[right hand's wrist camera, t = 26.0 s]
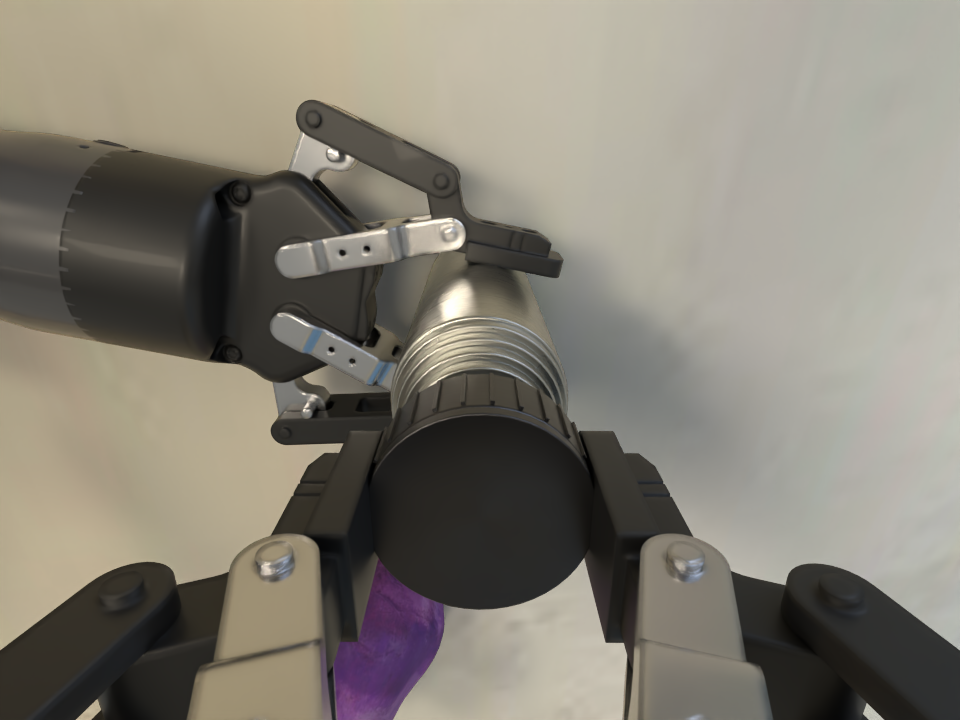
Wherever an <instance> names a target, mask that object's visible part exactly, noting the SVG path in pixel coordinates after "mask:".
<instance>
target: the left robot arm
mask: <svg viewBox="0 0 960 720" xmlns="http://www.w3.org/2000/svg"><path fill="white" fill-rule="evenodd" d="M296 121H297V125H298V127H299V129H300V130H301V133H300V136H299V139H298V142H297V145H296V148H295V151H294V154H293V157H292V160H291V163H290V166H289V169H288V170H284V171H279V172H276V173H273V174H271V175H267V176H260V175H253V174H248V173H243V172H239V171H234V170H229V169H224V168H219V167H214V166H210V165H205V164H200V163H195V162H190V161H185V160H181V159H176V158H171V157H166V156H161V155H156V154H152V153H147V152H142V151H137V150H131V149H129V148H127V147H125V146H123V145H120V144H116V143H113V142H109V141H103V140H98V141H88V140H84V139H79V138H73V137H67V136H61V135H55V134H47V133H36V132H18V131H7V130H1V129H0V320H3V321H6V322H9V323H13V324H16V325H19V326H23V327H26V328H30V329H33V330H38V331H42V332H47V333H53V334H58V335H64V336H70V337H75V338H81V339H86V340H92V341H98V342H103V343H108V344H113V345H119V346H124V347H130V348H135V349H141V350H146V351H151V352H157V353H162V354H168V355H173V356H179V357H184V358H190V359H195V360H201V361H206V362H215V363H231V364H239V365H242V366H244V367H247V368H249V369H251V370H252V371H254V372H256V373H257V374H258V375H260V376H261V377H262V378H264V379H266V380H268V381H271V382H273V386H274V392H275V397H276V403H277V408H278V413H279V416H278V418H277V419H276V421H275V422H274V423H273V425H272V427H271V435H272V437H273V438H274V440H276V441H277V442H278V443H280V444H283V445H302V444H332V443H344V442H345V439H346V437H347V435H348V433H349V432H350V431H384V429H385V427H389V425H390V423H391V421H392V420H393V418H392V410H391V385H392V379H393V376H394V373H395V370H396V367H397V364H398V361H399V358H400V356H401V353H402V350H403V347H404V344H403V343H402V342H401V341H400V340H399V339H398V338H397V336H396V335H395V334H393V333H392V332H390V331H388V330H387V329H385V328H383V327H381V326H380V325H378V324H376V323H375V320H376V313H377V305H376V298H375V288H376V286H377V284H378V282H379V279H380V277H381V275H382V271H383V264H384V263H391V262H396V261H400V260H403V259H406V258H409V257H415V256H422V255H428V254H435V253H441V252H447V251H455V252H460V253H465V260H466V261H471V262H476V263H481V264H488V265H493V266H497V267H501V268H506V269H511V270H516V271H521V272H526V273H531V274H536V275H541V276H546V277H551V278H558V277H559V275H560V271H561V267H562V263H563V258H562V257H561V256H560V254H559V253H557V252H554V251H551V250H550V248H551V243H550V241H549V240H548V238H546V237H545V236H543V235H542V234H540V233H539V232H538V231H535V230H531V229H526V228H521V227H516V226H511V225H506V224H502V223H497V222H492V221H487V220H482V219H478V218H475V217H473V216H472V215H470V214H469V213H468V212H467V210H466V209H465V206H464V203H463V198H462V192H461V185H460V172H459V170H458V168H457V167H456V166H455V165H454V164H452V163H450V162H448V161H446V160H444V159H442V158H440V157H438V156H436V155H434V154H432V153H430V152H428V151H426V150H424V149H422V148H420V147H418V146H416V145H414V144H412V143H410V142H408V141H406V140H404V139H401V138H399V137H397V136H395V135H393V134H391V133H389V132H387V131H385V130H383V129H381V128H379V127H377V126H375V125H373V124H371V123H369V122H367V121H365V120H363V119H361V118H359V117H357V116H355V115H353V114H351V113H349V112H347V111H345V110H343V109H340V108H338V107H336V106H334V105H330V104H327V103H324V102H320V101H316V100H308V101H305V102H303V103H302V104H301V105H300V106H299V108H298V110H297V113H296ZM358 161H360V162H362V163H365V164H367V165H369V166H371V167H373V168H375V169H377V170H379V171H381V172H383V173H385V174H388V175H390V176H392V177H394V178H396V179H398V180H400V181H402V182H404V183H406V184H408V185H410V186H413V187H415V188H417V189H419V190H421V191H423V192H425V193H427V197H428V202H429V208H430V214H427V215H421V216H414V217H401V218H394V219H388V220H382V221H375V222H369V223H363V224H362V223H361V222H360V221H359V220H358V219H357V218H356V217H355V216H354V215H353V214H352V213H351V212H350V211H349V210H348V209H347V208H346V207H345V206H344V204H343V203H342V202H341V201H340V200H339V199H338V198H337V197H336V196H335V195H334V194H333V193H332V192H331V191H330V190H329V189H328V188H327V187H326V186H325V185H324V184H323V183H322V182H321V181H320V180H319V177H320V175H321V174H322V173H323V172H324V171H326V170H332V171H336V172H343V171H348V170H351V169H353V168H354V167H355V166H356V165H357V163H358ZM354 359H355V360H354ZM327 365H331V366H332V367H334V368H336V369H338V370H340V371H342V372H344V373H345V374H347V375H349V376H351V377H353V378H355V379H356V380H358V381H360V382H362V383H364V384H366V385H370V386H374V385H378V386H381V387H383V388H385V389H386V390H388V391H390V392H384V393H356V394H330V393H329V392H328V391H327V389H326V388H325V387H323V386H319V385H312V384H310V383H308V382H306V381H305V380H304V379H303V377H302V376H304V375H306V374H309V373H311V372H313V371H315V370H318V369H320V368H322V367H324V366H327Z"/></svg>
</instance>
